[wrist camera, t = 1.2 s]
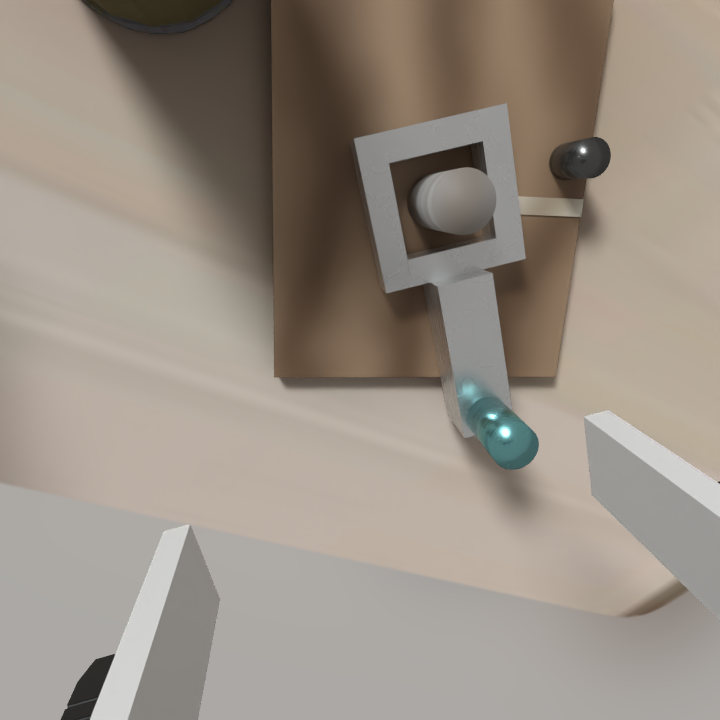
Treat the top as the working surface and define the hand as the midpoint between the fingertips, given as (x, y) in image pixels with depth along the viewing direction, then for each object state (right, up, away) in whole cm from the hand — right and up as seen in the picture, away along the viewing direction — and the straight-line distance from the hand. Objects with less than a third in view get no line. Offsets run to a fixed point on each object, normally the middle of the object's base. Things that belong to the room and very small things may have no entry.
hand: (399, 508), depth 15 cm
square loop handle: (+4, +9, +15) cm, 18 cm away
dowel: (+10, +16, +16) cm, 25 cm away
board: (+3, +14, +15) cm, 21 cm away
